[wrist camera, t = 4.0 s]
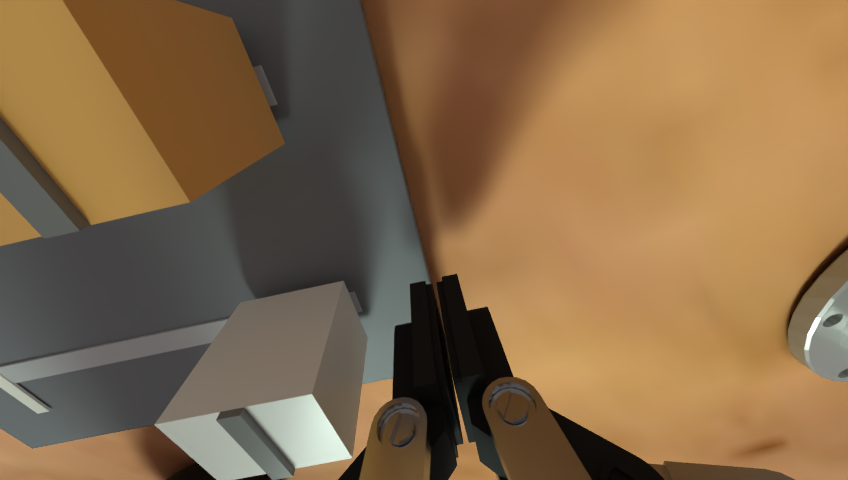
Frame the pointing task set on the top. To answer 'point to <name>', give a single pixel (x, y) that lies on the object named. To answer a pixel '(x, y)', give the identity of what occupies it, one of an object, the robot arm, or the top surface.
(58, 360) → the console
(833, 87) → the top surface
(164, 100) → the fader orange
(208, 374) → the fader white
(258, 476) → the cola bottle
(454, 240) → the top surface
